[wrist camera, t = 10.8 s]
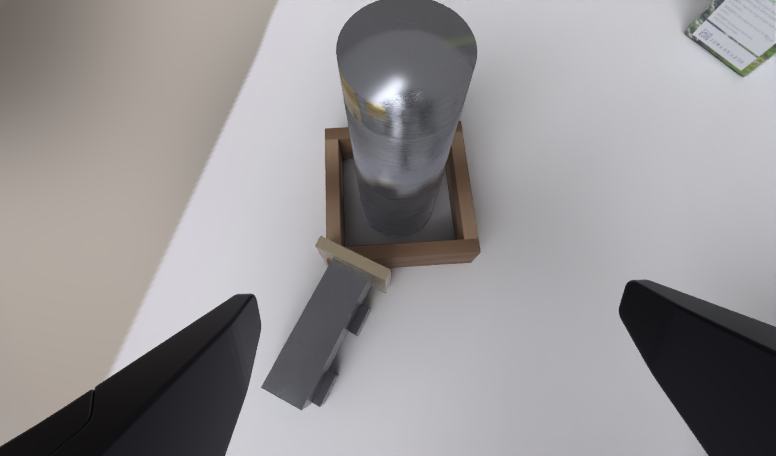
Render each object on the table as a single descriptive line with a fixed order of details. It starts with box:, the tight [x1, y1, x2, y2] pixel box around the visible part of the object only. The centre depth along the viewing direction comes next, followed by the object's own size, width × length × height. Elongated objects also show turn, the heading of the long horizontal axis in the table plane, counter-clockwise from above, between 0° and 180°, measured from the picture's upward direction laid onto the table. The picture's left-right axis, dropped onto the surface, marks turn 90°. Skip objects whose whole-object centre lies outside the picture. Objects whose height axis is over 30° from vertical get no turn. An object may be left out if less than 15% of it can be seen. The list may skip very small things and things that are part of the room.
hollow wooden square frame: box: [325, 121, 480, 268], centre depth 23 cm, size 9×9×2 cm
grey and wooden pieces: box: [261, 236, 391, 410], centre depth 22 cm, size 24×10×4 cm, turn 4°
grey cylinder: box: [336, 0, 477, 237], centre depth 18 cm, size 5×5×13 cm
